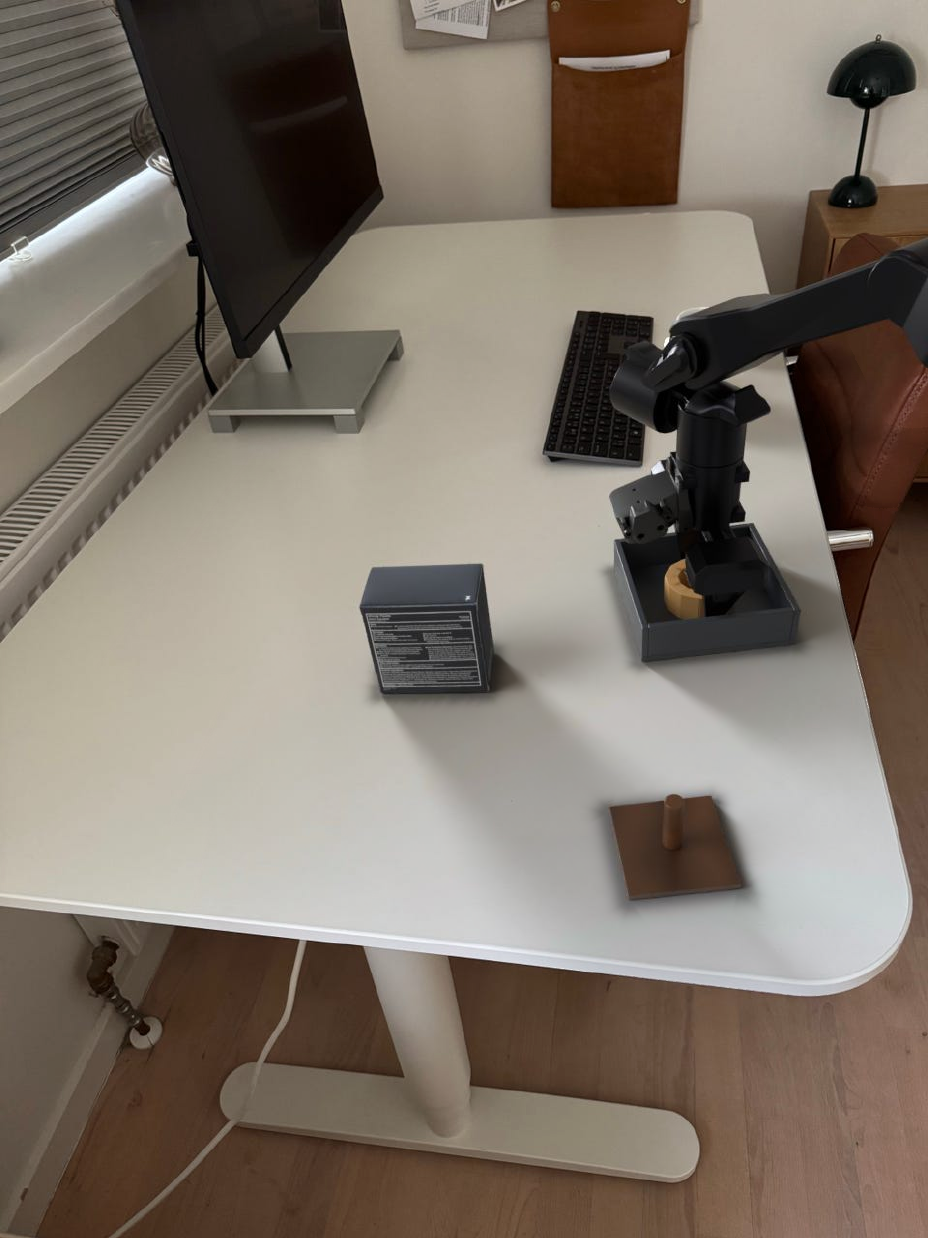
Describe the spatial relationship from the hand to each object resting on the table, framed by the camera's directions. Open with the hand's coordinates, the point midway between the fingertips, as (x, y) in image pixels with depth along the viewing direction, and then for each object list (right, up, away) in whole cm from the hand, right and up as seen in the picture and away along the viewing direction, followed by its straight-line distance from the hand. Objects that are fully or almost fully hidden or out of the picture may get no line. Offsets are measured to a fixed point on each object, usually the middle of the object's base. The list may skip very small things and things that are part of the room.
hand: (699, 593), depth 87 cm
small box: (-25, -8, -2) cm, 27 cm away
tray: (0, -1, +1) cm, 2 cm away
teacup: (+12, +37, +45) cm, 60 cm away
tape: (0, -1, +1) cm, 1 cm away
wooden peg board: (-7, -20, -20) cm, 29 cm away
